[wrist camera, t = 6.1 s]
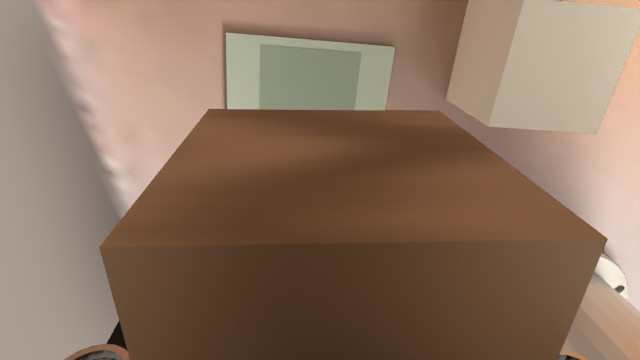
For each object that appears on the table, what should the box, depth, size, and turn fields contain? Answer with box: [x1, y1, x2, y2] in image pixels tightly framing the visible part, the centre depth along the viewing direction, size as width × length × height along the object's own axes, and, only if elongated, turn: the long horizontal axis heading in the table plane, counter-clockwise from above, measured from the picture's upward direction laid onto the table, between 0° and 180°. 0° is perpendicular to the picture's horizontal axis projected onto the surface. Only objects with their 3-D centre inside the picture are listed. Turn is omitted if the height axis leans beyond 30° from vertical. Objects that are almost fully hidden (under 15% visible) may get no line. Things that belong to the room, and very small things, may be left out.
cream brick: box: [446, 0, 640, 134], centre depth 21 cm, size 6×6×6 cm
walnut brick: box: [100, 109, 607, 360], centre depth 9 cm, size 6×9×6 cm, turn 179°
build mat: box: [226, 32, 395, 110], centre depth 24 cm, size 10×10×1 cm
